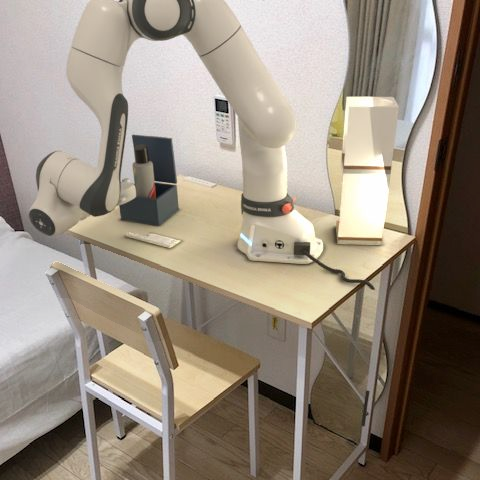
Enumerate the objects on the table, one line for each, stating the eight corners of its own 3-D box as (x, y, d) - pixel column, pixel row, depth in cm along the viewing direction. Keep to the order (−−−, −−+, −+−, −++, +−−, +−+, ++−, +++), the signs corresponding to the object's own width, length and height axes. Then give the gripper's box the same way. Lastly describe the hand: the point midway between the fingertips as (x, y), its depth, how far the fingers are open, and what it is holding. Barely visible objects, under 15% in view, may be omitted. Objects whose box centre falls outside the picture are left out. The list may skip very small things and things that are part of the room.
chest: (159, 225, 166) (156, 199, 162) (121, 220, 170) (117, 194, 166) (178, 209, 176) (176, 184, 171) (142, 204, 180) (139, 180, 175)
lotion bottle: (161, 212, 172) (154, 144, 161) (149, 218, 168) (141, 150, 157) (146, 208, 175) (139, 141, 164) (134, 215, 171) (125, 147, 160)
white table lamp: (377, 228, 162) (393, 96, 143) (381, 245, 153) (399, 107, 134) (335, 227, 163) (346, 96, 144) (337, 243, 154) (349, 107, 135)
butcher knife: (138, 230, 163) (137, 226, 163) (181, 241, 157) (181, 237, 156) (126, 236, 160) (125, 232, 159) (169, 248, 153) (169, 244, 152)
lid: (170, 139, 163) (178, 133, 166) (131, 135, 167) (140, 129, 170) (176, 183, 171) (183, 177, 174) (138, 179, 175) (146, 172, 178)
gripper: (117, 190, 136) (146, 171, 146) (45, 181, 142) (78, 163, 153) (120, 215, 139) (149, 195, 150) (50, 205, 145) (82, 186, 156)
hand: (112, 179), depth 151 cm, fingers open, 8 cm apart
